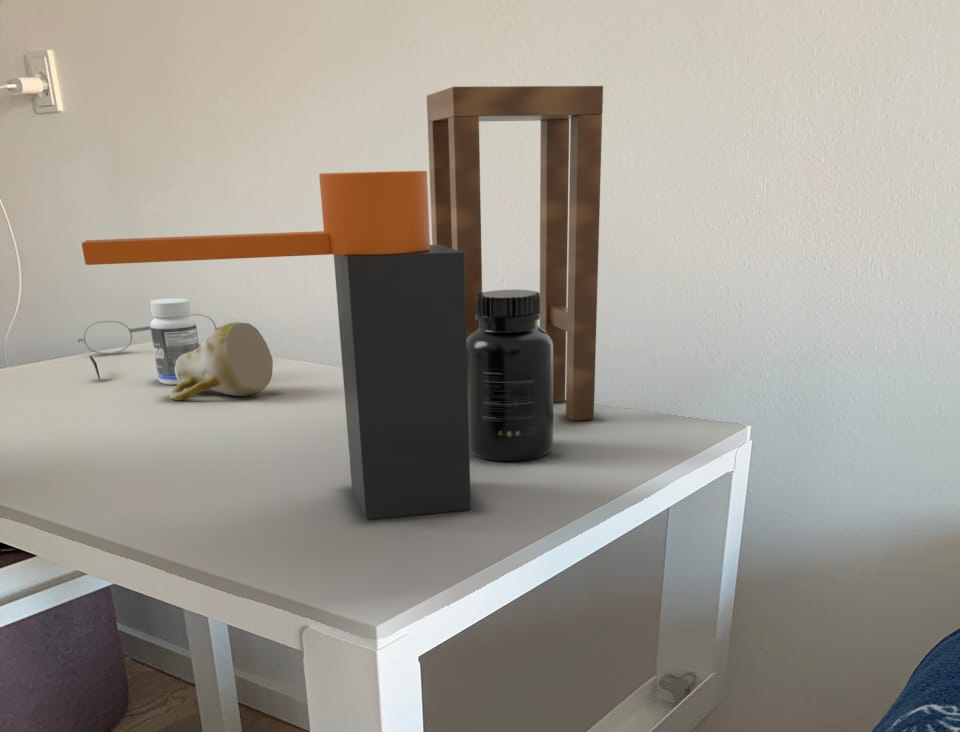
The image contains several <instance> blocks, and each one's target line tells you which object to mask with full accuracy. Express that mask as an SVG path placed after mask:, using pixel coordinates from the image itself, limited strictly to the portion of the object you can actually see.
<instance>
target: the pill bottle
mask: <svg viewBox="0 0 960 732" xmlns="http://www.w3.org/2000/svg"><path fill="white" fill-rule="evenodd" d="M190 303H191V302H190V299H187V298H180V297H178V298H177V297H175V298H174V297H173V298H172V297H170V298H158V299H152V300H150V303H149V304H150V312H151V316H153V317H154V318H153V319H152V320H151V322H150V324H149V326H150V328H151V330H150V334H151V340H152V346H153V352H154V353H153V354H154V360H155V365H156V372H157V378H158V381H159V382H160V383H161V384H163V385H175V386H176V385H178V384H180V382H179V381H178V379H177V377H176V374H175V365H176V361H177V359H178V358H179V357H180V356H181V355H183V354H185V353H188V352H191V351H194V350H196V349H197V348H198V347H199V345H200V343H199V336H198V328H197V327H198V326H197V323H196V320H195V319H194V318H192V317H191V316H189V315H190V314H192V312H191V309H192V308H191V304H190Z"/></svg>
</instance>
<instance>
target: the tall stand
mask: <svg viewBox="0 0 960 732" xmlns="http://www.w3.org/2000/svg"><path fill="white" fill-rule="evenodd" d="M603 106H604V85H505V86H502V85H501V86H500V85H499V86H495V85H494V86H491V85H490V86H487V85H485V86H484V85H483V86H479V85H478V86H452V87H448V88H445V89H442V90H440V91H436V92H433V93H430V94H427V95H426V116H427V141H428V142H427V143H428V169H429V194H430V196H429V197H430V217H431V218H430V220H431V221H430V222H431V245H442V246H445V247H449V248H452V249H455V250H458V251H461V252H464V264H465V303H466V340H467V338H468V336H469V335H470V334H471V333H472V332H474V331H475V330H476V329H478V328H479V321H477V320H476V295H477V294H478V293H482V292H483V261H482V260H483V258H482V256H483V255H482V214H481V213H482V210H481V209H482V207H481V205H482V204H481V155H480V153H481V152H480V149H481V148H480V122H531V121H532V122H535V121H536V122H537V121H538V122H539V121H540V148H539V149H540V151H539V153H540V155H539V156H540V158H539V159H540V160H539V161H540V169H539V170H540V171H539V172H540V174H539V175H540V176H539V177H540V178H539V179H540V180H539V183H540V184H539V185H540V186H539V190H540V191H539V192H540V193H539V196H540V197H539V214H540V215H539V293H540V311H541V319H539V327H540V328H542V329H543V330H545V331H546V332H547V333H548V334H549V335H550V337H551V339H552V341H553V403H562V402H565V417H566V418H567V419H569V420H570V421H572V422H582V421H593V420H594V418H595V389H596V387H595V385H596V355H597V352H596V351H597V320H598V319H597V318H598V317H597V316H598V287H599V286H598V284H599V283H598V282H599V281H598V280H599V247H600V245H599V243H600V214H601V213H600V212H601V211H600V207H601V206H600V205H601V176H602V175H601V174H602V142H603V141H602V140H603V139H602V137H603Z"/></svg>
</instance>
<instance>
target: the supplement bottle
mask: <svg viewBox="0 0 960 732" xmlns="http://www.w3.org/2000/svg"><path fill="white" fill-rule="evenodd" d="M540 319H541V311H540V292H539V291H536V290H529V289H497V290H489V291H488V290H487V291H482V293H478V294H477V295H476V320H477V321H479V328H478V329H476V330H475V331H474V332H472V333H471V334H470V335H469V336H468V338H467V340H466V342H467V380H468V419H469V452H470V453H471V454H473V456H475V457H477V458H479V459H483V460H487V461H494V462H521V461H529V460H534V459H538V458H541V457H543V456H545V455H547V454H548V453H550V451H551V450H552V448H553V446H554V402H553V341H552V339H551V337H550V335H549V334H548V333H547V332H546V331H545V330H543V329H542V328H540V325H539V324H538V323H539V320H540Z"/></svg>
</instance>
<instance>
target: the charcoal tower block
mask: <svg viewBox="0 0 960 732" xmlns="http://www.w3.org/2000/svg"><path fill="white" fill-rule="evenodd" d="M333 262H334V278H335V288H336V289H335V290H336V303H337V314H338V316H337V317H338V328H339V338H340V339H339V341H340V354H341V366H342V379H343V389H344V390H343V391H344V405H345V417H346V429H347V443H348V457H349V468H350V480H351V481H350V482H351V491H352V493H353V495H354V496H355V499H356V501H357V503H358V505H359V507H360V509H361V511H362V514H363V516H364V517H365V520H367V521H369V520H379V519H387V518H399V517H408V516H418V515H420V516H421V515H429V514H430V515H431V514H439V513H440V514H441V513H449V512H450V513H451V512H459V511H469V510H471V508H472V507H471V506H472V502H471V500H472V499H471V465H470V464H471V461H470V458H471V457H470V449H469V419H468V380H467V342H466V303H465V264H464V252H461V251H458V250H455V249H452V248H449V247H445V246H442V245H432V244H430V250H428V251H424V252H418V253H408V254H394V255H365V256H352V255H333Z"/></svg>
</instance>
